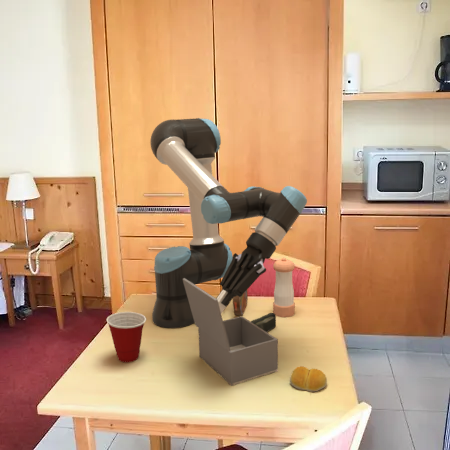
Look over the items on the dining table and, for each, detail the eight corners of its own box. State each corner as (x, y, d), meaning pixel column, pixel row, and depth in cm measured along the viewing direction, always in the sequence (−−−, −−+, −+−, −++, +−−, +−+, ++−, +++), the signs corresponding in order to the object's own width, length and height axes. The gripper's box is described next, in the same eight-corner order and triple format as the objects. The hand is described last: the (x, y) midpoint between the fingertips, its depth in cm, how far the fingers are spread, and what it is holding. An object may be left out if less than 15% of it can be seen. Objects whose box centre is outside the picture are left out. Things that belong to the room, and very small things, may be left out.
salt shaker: (269, 314, 172) (268, 259, 168) (279, 307, 178) (279, 253, 174) (288, 318, 168) (288, 262, 164) (298, 311, 174) (299, 256, 169)
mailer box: (199, 356, 144) (198, 326, 142) (242, 344, 151) (241, 316, 149) (231, 385, 129) (230, 352, 127) (277, 371, 135) (277, 339, 133)
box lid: (197, 324, 142) (195, 325, 142) (184, 277, 137) (182, 278, 137) (230, 350, 126) (228, 351, 126) (217, 299, 122) (215, 300, 121)
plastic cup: (149, 364, 140) (146, 323, 138) (108, 369, 139) (105, 327, 136) (148, 347, 151) (145, 308, 148) (110, 350, 149) (107, 312, 146)
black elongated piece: (269, 310, 164) (241, 325, 152) (277, 312, 162) (249, 327, 150) (269, 325, 165) (241, 341, 153) (277, 327, 163) (249, 343, 151)
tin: (241, 319, 169) (240, 295, 167) (231, 318, 169) (231, 294, 168) (248, 302, 183) (248, 279, 181) (239, 302, 184) (239, 279, 182)
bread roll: (323, 395, 124) (324, 380, 123) (287, 389, 127) (287, 374, 126) (329, 378, 131) (329, 364, 130) (294, 373, 134) (294, 358, 134)
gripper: (288, 252, 131) (236, 330, 127) (260, 242, 142) (210, 313, 138) (271, 236, 128) (216, 315, 123) (242, 226, 139) (191, 299, 135)
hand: (213, 314), depth 131 cm, fingers closed
